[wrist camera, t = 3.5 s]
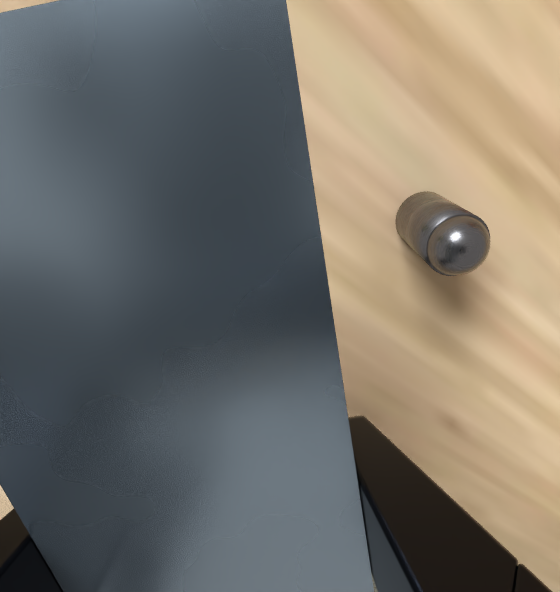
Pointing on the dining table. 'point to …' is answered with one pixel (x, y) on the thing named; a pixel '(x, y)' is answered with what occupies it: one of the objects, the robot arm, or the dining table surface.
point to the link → (168, 305)
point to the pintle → (443, 233)
